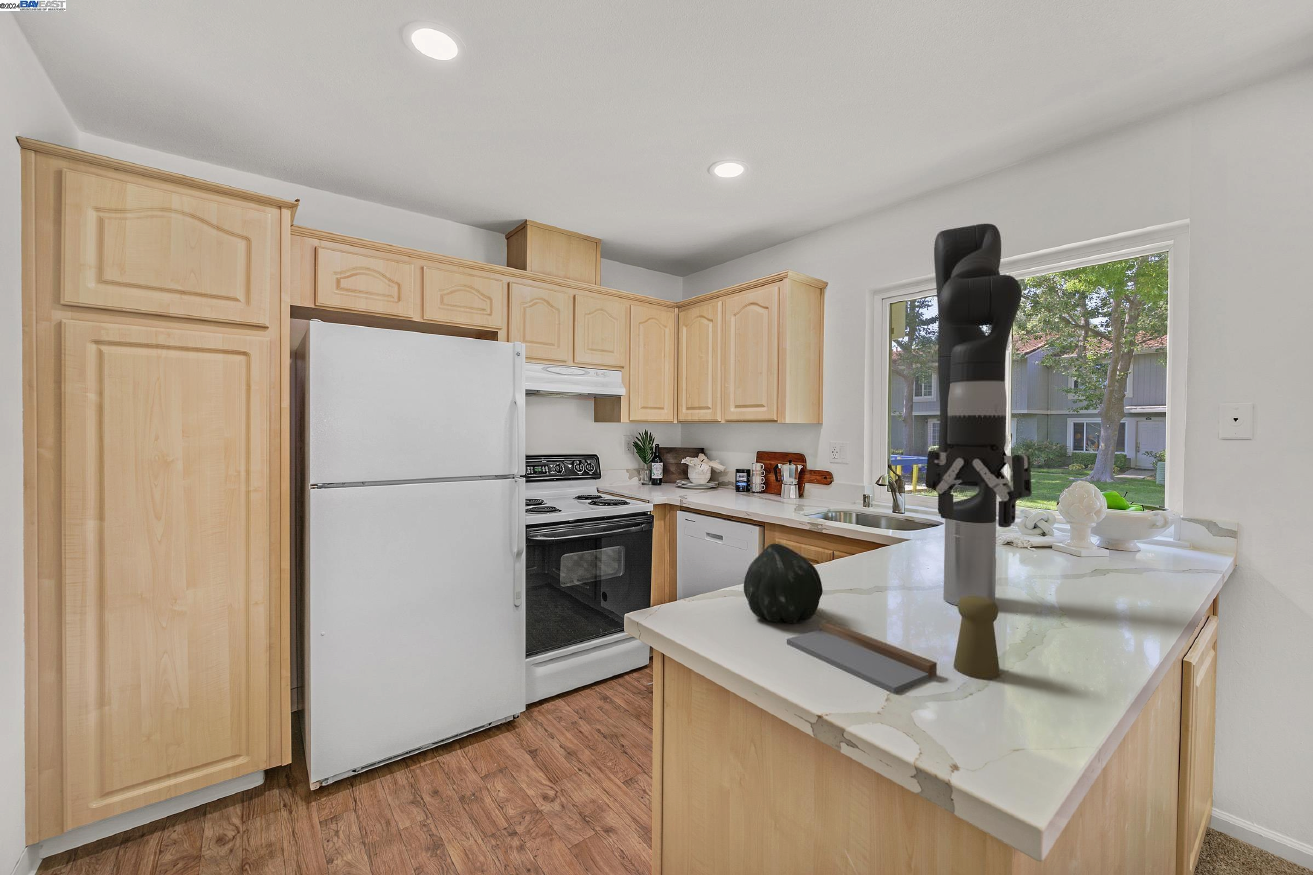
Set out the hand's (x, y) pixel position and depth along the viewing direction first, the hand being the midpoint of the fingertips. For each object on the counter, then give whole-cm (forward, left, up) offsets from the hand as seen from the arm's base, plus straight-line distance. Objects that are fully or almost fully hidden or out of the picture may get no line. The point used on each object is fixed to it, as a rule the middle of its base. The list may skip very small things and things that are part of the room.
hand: (974, 522), depth 82 cm
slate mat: (+13, -11, -22) cm, 28 cm away
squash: (+8, -31, -22) cm, 39 cm away
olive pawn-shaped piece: (0, +1, -22) cm, 22 cm away
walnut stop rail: (+8, -11, -22) cm, 26 cm away
